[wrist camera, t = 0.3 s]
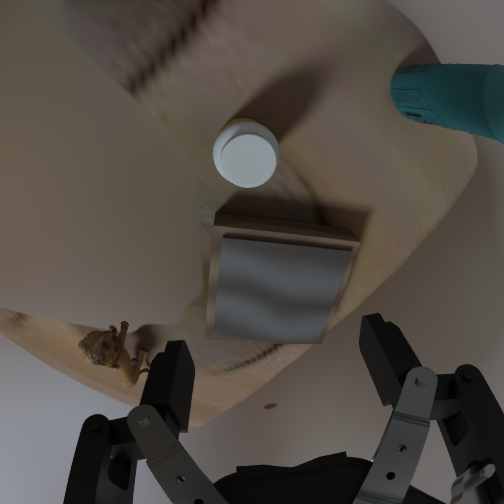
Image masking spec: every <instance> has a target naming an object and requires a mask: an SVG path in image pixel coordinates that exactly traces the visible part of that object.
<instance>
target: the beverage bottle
mask: <svg viewBox="0 0 504 504" xmlns="http://www.w3.org/2000/svg"><path fill="white" fill-rule="evenodd" d="M429 64H430V63H429ZM431 64H432V63H431ZM418 65H420V64H418ZM418 65H417V66H415V65H414V66H410V67H405V66H404V67H405V68H402V69H401V70H400V69H399V70H398V71H397V73H396V74H395V75H394V77H393V79H392V82H391V96H392V100H393V102H394V104H395V106H396V108H397V109H398V110H399V111H400V112H401V113H402V115H405V116H406V117H407V118H410V119H413V120H414V121H415V120H418V121H417V122H419V121H423V122H421V123H424V122H425V123H426V122H427V123H426V124H428V123H430V125H431V124H436V126H437V125H438V126H440V125H441V126H442V127H443V126H445V127H444V128H446V127H449V128H452V129H454V130H455V129H457V130H461V131H465V132H469V133H470V135H471V133H474V134H477V135H481V136H484V137H487V138H491V139H494V140H497V141H499V142H501V143H503V144H504V66H503V65H499V64H495V65H482V64H440V63H439V64H435V65H428V64H424V65H422V66H421V65H420V66H418ZM410 119H409V120H410ZM449 128H448V129H449ZM457 130H456V131H457Z"/></svg>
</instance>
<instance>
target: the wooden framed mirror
mask: <svg viewBox="0 0 504 504" xmlns="http://www.w3.org/2000/svg"><path fill="white" fill-rule="evenodd" d="M360 243H361V242H360V241H359V240H358V238H357V237H356V236H355V235H354V233H353V232H352V231H351V230H350V229H346V228H339V227H332V226H325V225H317V224H310V223H302V222H294V221H286V220H278V219H270V218H261V217H252V216H243V215H234V214H224V213H215V220H214V228H213V239H212V249H211V261H210V273H209V286H208V299H207V314H206V330H205V339H213V340H226V341H241V342H259V343H286V344H322V342H323V339H324V337H325V335H326V333H327V330H328V328H329V326H330V323H331V321H332V318H333V316H334V314H335V311H336V309H337V306H338V304H339V301H340V299H341V296H342V293H343V291H344V288H345V286H346V283H347V280H348V277H349V275H350V272H351V269H352V266H353V264H354V261H355V258H356V255H357V252H358V249H359V246H360Z"/></svg>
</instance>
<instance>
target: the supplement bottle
mask: <svg viewBox="0 0 504 504" xmlns="http://www.w3.org/2000/svg"><path fill="white" fill-rule="evenodd" d="M279 157H280V149H279V145H278V142H277V140H276V138H275V136H274V135H273V134H272V132H271V131H270V130H269V129H267V128H266V127H265V126H263V125H262V124H261V123H259V122H257V121H255V120H252V119H249V118H237V119H234V120H231V121H230V122H228V123H227V124H226V125H224V126H223V128H222V129H221V130H220V132H219V134H218V136H217V139H216V141H215V144H214V148H213V159H214V163H215V166H216V168H217V170H218V171H219V173H220V174H221V175H222V176H223V177H224V178H225V179H227V180H228V181H230V182H232V183H234V184H235V185H238V186H241V187H246V188H250V187H256V186H259V185H261V184H263V183H265V182H266V181H267V180H268V179H269V178H270V177H271V176H272V174H273V173H274V171H275V169H276V167H277V165H278V162H279Z"/></svg>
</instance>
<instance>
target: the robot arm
mask: <svg viewBox="0 0 504 504" xmlns="http://www.w3.org/2000/svg"><path fill="white" fill-rule="evenodd" d="M407 342H408V341H407V340H406V338H405V337H404V335H403V333H402V332H401V330H400V329H399V327H398V326H396V325H395V324H393V323H392V322H390V321H389V322H385V321H384V320H383V318H382V316H381V315H380V314H379V313H375V314H370V315H365V316H363V317H362V322H361V329H360V337H359V347H360V351H361V354H362V356H363V359H364V361H365V363H366V365H367V368H368V370H369V373H370V375H371V377H372V380H373V382H374V385H375V387H376V389H377V392H378V394H379V397H380V399H381V402H382V404H383V406H387V405H390V404H391V405H392V407H393V411H392V414H391V416H390V419H389V422H388V424H387V426H386V429H385V431H384V434H383V436H382V438H381V440H380V443H379V445H378V447H377V449H376V451H375V453H374V455H373V457H372V459H371V461H368V460H365V459H362V458H355V457H347V455H346V451H345V452H340V453H336V454H331V455H326V456H321V457H318V458H316V459H313V460H311V461H308V462H306V463H303V464H300V465H298V466H295V467H280V466H271V465H252V466H237V467H236V469H237V470H236V471H237V472H236V473H232V474H230V475H227V476H225V477H223V478H221V479H219V480H218V481H216V482H215V483H214V484H213V483H212V482H211V481H210V480H209V478H208V477H207V476H206V475H205V474H204V472H203V471H202V470H201V469H200V468H199V467H198V465H197V464H196V463H195V461H194V460H193V459H192V458H191V456H190V455H189V454H188V452H187V451H186V450H185V449H184V447H183V446H182V445H181V443H180V442H179V441H178V439H179V433H187V432H188V423H189V415H190V408H191V400H192V393H193V386H194V378H195V366H194V362H193V360H192V357H191V355H190V352H189V349H188V347H187V344H186V342H185V340H176V341H168V342H167V344H166V348H165V352H159V353H158V354H157V355H156V356H155V358H154V359H153V360H152V363H151V366H150V369H149V370H150V371H149V373H148V376H147V377H148V378H147V380H146V383H145V386H144V390H143V394H142V397H141V401H140V404H139V406H136V407H135V408H133V409H132V410H131V411H130V412H129V414H128V416H127V417H123V418H119V419H114V420H108V419H107V418H106V417H105V416H104V415H101V414H94V415H92V416H90V417H88V418H87V419H86V420H85V421H84V423H83V425H82V429H81V432H80V436H79V439H78V443H77V447H76V450H75V454H74V458H73V462H72V466H71V470H70V474H69V479H68V483H67V487H66V492H65V498H64V502H63V504H133V493H134V484H135V476H136V467H137V460H141V459H147V461H146V463H147V465H148V467H149V469H150V470H151V472H152V474H153V475H154V477H155V478H156V480H157V481H158V483H159V484H160V486H161V487H162V489H163V490H164V492H165V493H166V495H167V496H168V498H169V499H170V500H171V502H172V503H173V504H446V503H444V502H442V501H440V500H438V499H436V498H434V497H432V496H430V495H428V494H426V493H424V492H423V491H421V490H419V489H417V488H415V487H413V486H412V485H410V483H411V480H412V478H413V475H414V473H415V470H416V467H417V465H418V462H419V459H420V456H421V453H422V450H423V447H424V444H425V441H426V438H427V434H428V431H429V427H430V422H429V420H436V421H437V423H438V426H439V428H440V431H441V433H442V436H443V439H444V441H445V444H446V447H447V450H448V452H449V455H450V458H451V461H452V464H453V467H454V470H455V473H456V476H457V478H456V480H455V481H454V483H453V485H452V488H451V496H452V497H451V502H450V504H504V413H503V411H502V409H501V408H500V406H499V404H498V402H497V400H496V398H495V396H494V395H493V393H492V391H491V389H490V387H489V386H488V384H487V382H486V381H485V379H484V377H483V375H482V374H481V372H480V371H479V369H478V368H476V367H475V366H473V365H470V364H464V365H461V366H459V367H458V368H457V370H456V371H455V373H454V374H441V375H440V374H435V372H434V371H432V370H431V369H429V368H427V367H423V366H422V365H421V363H420V361H419V360H418V358H417V356H416V355H415V353H414V351H413V350H412V348H411V346H410V345H409V343H407Z"/></svg>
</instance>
